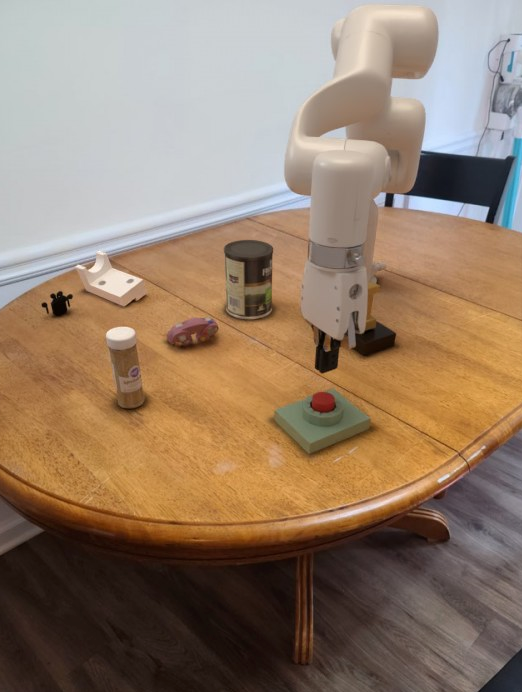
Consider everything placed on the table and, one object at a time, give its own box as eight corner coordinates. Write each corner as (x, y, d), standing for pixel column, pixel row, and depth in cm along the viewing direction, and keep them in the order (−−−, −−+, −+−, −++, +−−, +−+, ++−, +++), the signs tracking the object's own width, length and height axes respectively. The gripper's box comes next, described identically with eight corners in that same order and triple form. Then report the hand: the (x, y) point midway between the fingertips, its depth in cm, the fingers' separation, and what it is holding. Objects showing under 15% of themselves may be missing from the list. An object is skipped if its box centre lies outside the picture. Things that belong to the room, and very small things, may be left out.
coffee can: (276, 301, 129) (277, 241, 121) (266, 322, 121) (267, 259, 112) (233, 296, 130) (231, 237, 122) (220, 316, 122) (217, 254, 114)
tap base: (339, 311, 126) (343, 274, 121) (394, 346, 114) (400, 307, 109) (291, 325, 120) (293, 287, 115) (344, 363, 108) (348, 323, 103)
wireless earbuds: (73, 307, 124) (69, 286, 121) (79, 311, 122) (75, 290, 120) (43, 317, 120) (38, 295, 117) (49, 321, 118) (44, 299, 115)
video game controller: (171, 355, 111) (174, 335, 106) (164, 337, 113) (166, 316, 107) (218, 345, 115) (223, 324, 109) (210, 327, 117) (214, 306, 111)
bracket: (88, 294, 132) (75, 266, 126) (110, 277, 135) (98, 250, 130) (125, 310, 126) (113, 282, 120) (147, 292, 129) (137, 264, 124)
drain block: (332, 398, 99) (333, 379, 96) (369, 429, 92) (372, 409, 90) (274, 420, 93) (274, 400, 91) (309, 454, 86) (310, 434, 84)
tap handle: (366, 321, 115) (371, 280, 110) (375, 327, 113) (381, 286, 108) (354, 325, 114) (359, 283, 109) (364, 331, 112) (369, 289, 107)
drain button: (325, 397, 92) (325, 389, 91) (338, 409, 90) (339, 400, 89) (307, 404, 91) (307, 395, 90) (320, 416, 88) (321, 407, 87)
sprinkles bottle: (135, 412, 94) (124, 342, 86) (112, 405, 95) (99, 335, 87) (150, 397, 97) (141, 328, 89) (127, 391, 98) (116, 323, 91)
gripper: (395, 265, 72) (377, 385, 82) (324, 231, 82) (316, 342, 93) (349, 276, 68) (336, 400, 79) (281, 239, 79) (278, 353, 89)
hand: (326, 368), depth 86 cm, fingers closed
